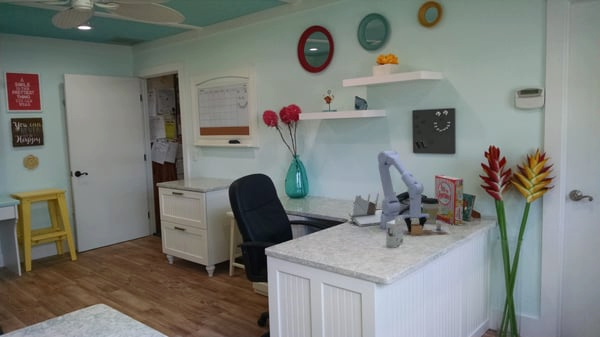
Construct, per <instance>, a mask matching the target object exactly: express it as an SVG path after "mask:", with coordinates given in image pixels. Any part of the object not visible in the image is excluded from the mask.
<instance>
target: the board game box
mask: <svg viewBox="0 0 600 337" xmlns="http://www.w3.org/2000/svg"><path fill="white" fill-rule="evenodd" d="M434 198H435V199H438V201H439V203H438V212H437V219H436V220H438V219H439V221H441V220H442V221H441V222H444V221H445V222H444V223H446V222H448V223H447V224H449V223H451V224H450V225H452V224H454V225H453V226H456V225H455V224H462V225H463V212H464V211H463V209H464V208H463V206H464V178H459V177H453V176H450V175H449V176H448V175H445V174H440V175H439V174H438V175H437V174H436V175H434Z"/></svg>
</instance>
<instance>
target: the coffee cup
mask: <svg viewBox="0 0 600 337" xmlns="http://www.w3.org/2000/svg"><path fill="white" fill-rule="evenodd" d="M438 203H439V201H438V199H435V197H434V198H433V197H423V198H422V199H421V205H422V214H429V218H426V219H427V221H426V222H425V224H424V225H432V224H433V225H437V224H436V223H437V220H438V219H437V212H438Z"/></svg>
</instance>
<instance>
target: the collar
mask: <svg viewBox="0 0 600 337" xmlns="http://www.w3.org/2000/svg"><path fill="white" fill-rule="evenodd" d="M409 233H410V234H412V235H415V234H422V225H420V224H419V223H411V232H409Z"/></svg>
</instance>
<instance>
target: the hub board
mask: <svg viewBox="0 0 600 337" xmlns="http://www.w3.org/2000/svg"><path fill="white" fill-rule="evenodd" d="M441 228H442V227H441V224H440V223H438V224H436V228H435V229H434V228H433V229H423V230H422V234H415V235H412V234H410V233H409V232H408V230H404V232H405V233H406V234H407V235H409V236H411V237H423V236H424V237H425V236H442V235H443V236H446V235H448V236H449V235H451V233H449V232H448V231H446V230H445V229H441Z"/></svg>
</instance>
